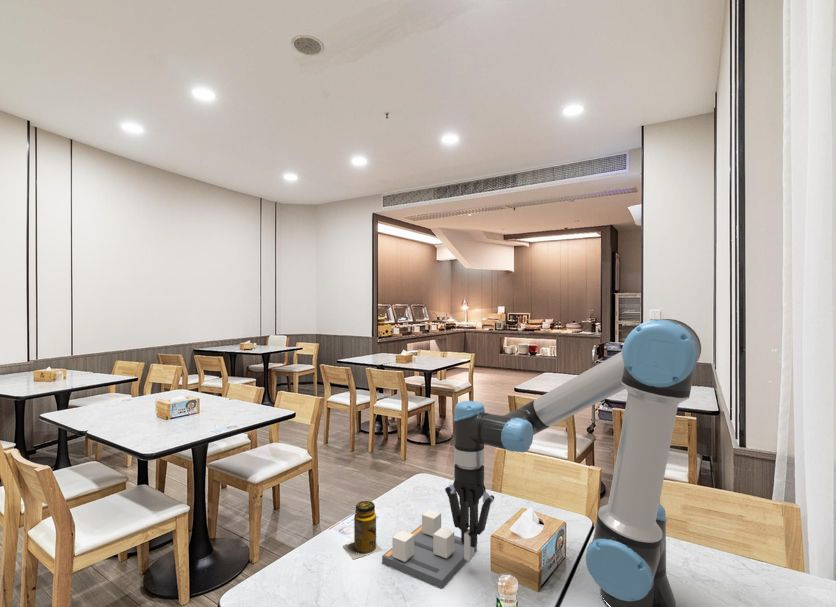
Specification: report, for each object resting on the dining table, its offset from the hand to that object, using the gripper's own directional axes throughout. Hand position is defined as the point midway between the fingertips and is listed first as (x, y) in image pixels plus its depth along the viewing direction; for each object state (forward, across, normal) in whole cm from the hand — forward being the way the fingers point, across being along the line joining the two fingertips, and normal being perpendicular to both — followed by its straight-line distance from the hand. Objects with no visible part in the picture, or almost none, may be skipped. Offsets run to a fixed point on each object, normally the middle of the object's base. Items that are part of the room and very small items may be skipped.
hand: (469, 557), depth 107 cm
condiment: (+4, +29, +7) cm, 30 cm away
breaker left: (+1, +15, +7) cm, 17 cm away
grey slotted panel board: (+4, +11, 0) cm, 12 cm away
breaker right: (+1, +15, -7) cm, 17 cm away
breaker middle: (+1, +7, 0) cm, 7 cm away
